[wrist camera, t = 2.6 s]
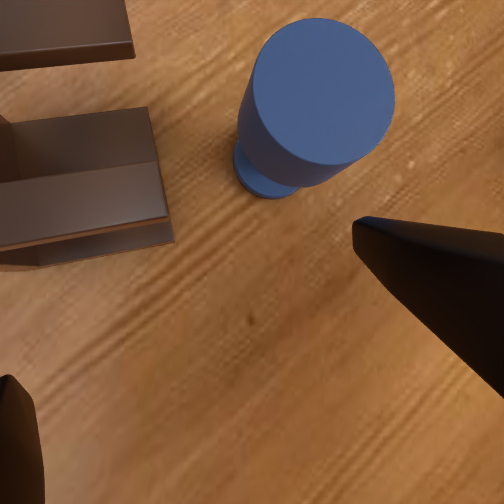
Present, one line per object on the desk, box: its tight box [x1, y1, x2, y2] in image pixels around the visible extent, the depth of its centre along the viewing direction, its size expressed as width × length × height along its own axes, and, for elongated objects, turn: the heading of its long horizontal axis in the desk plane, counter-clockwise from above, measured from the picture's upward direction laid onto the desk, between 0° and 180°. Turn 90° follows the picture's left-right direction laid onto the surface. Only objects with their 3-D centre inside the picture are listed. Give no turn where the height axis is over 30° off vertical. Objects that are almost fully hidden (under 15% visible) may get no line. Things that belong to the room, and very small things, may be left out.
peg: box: [233, 18, 395, 199], centre depth 20 cm, size 6×6×10 cm
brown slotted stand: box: [0, 0, 175, 271], centre depth 17 cm, size 8×8×10 cm
